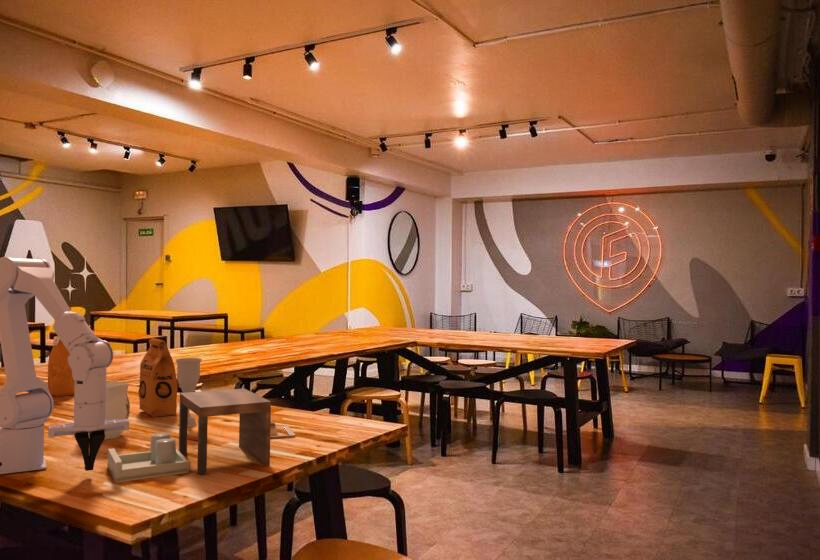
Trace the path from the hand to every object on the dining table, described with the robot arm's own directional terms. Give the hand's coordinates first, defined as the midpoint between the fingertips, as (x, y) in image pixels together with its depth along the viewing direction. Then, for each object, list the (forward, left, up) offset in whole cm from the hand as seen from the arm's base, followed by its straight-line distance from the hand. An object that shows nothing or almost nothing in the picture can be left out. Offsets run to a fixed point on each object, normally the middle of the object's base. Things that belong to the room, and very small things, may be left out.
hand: (88, 469), depth 130 cm
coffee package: (+24, +59, -2) cm, 63 cm away
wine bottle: (+2, +105, -2) cm, 105 cm away
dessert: (+44, +19, -2) cm, 48 cm away
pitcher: (+7, +36, -2) cm, 36 cm away
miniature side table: (+27, 0, -2) cm, 27 cm away
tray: (+11, 0, -2) cm, 11 cm away
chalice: (+28, +39, -2) cm, 48 cm away
